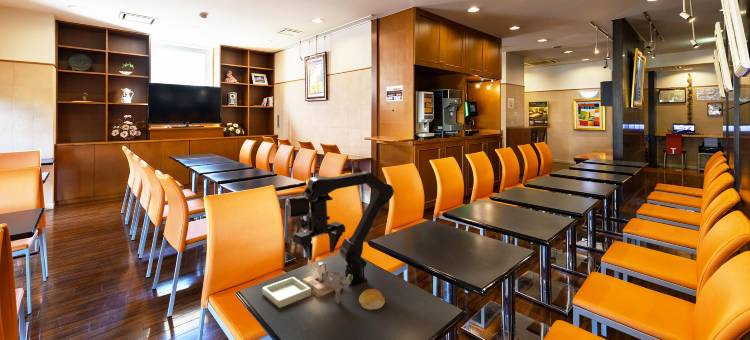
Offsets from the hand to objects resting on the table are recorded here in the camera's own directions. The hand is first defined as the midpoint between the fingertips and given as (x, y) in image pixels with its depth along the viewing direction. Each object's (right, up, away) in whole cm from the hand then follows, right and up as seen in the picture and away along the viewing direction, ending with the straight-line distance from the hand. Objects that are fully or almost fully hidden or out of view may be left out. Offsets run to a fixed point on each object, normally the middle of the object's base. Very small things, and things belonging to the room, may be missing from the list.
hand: (321, 256), depth 126 cm
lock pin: (0, -12, +2) cm, 12 cm away
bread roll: (+18, -14, -8) cm, 24 cm away
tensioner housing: (0, -12, +2) cm, 12 cm away
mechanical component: (+7, -14, -8) cm, 17 cm away
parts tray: (-11, -13, -3) cm, 17 cm away
